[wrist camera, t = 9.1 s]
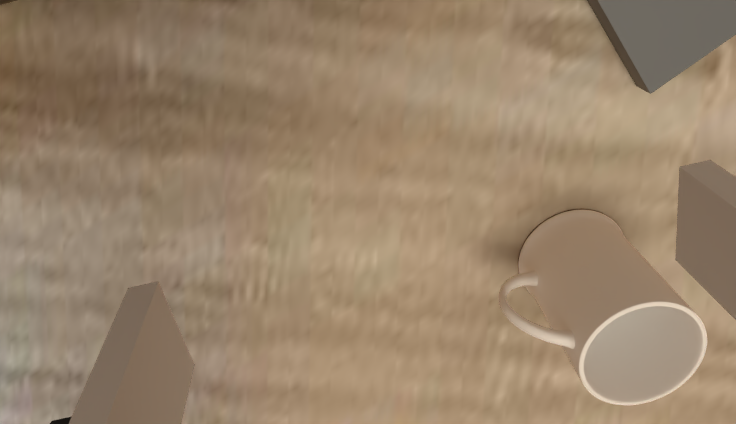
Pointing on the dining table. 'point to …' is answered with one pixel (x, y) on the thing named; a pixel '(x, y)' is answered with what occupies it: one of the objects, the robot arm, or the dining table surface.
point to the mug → (607, 309)
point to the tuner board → (664, 34)
